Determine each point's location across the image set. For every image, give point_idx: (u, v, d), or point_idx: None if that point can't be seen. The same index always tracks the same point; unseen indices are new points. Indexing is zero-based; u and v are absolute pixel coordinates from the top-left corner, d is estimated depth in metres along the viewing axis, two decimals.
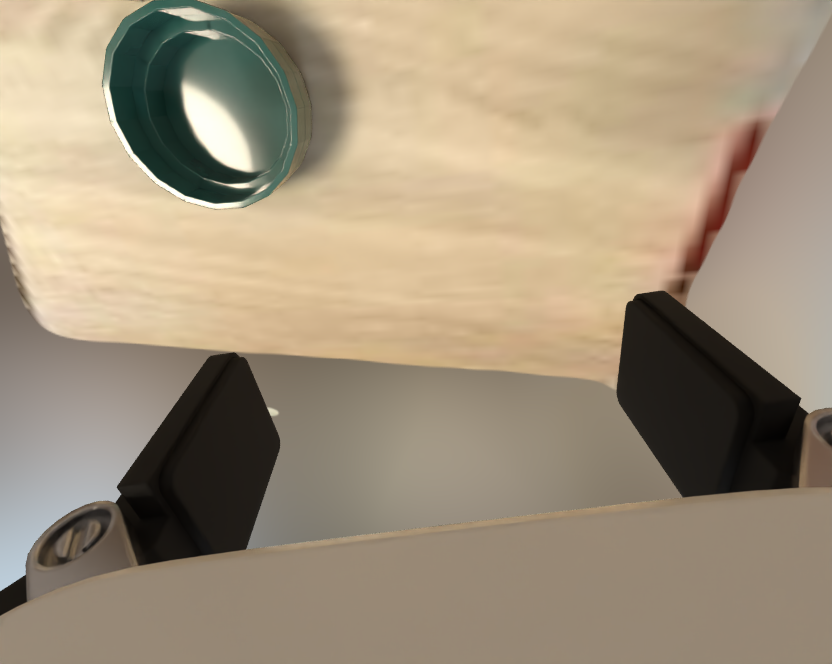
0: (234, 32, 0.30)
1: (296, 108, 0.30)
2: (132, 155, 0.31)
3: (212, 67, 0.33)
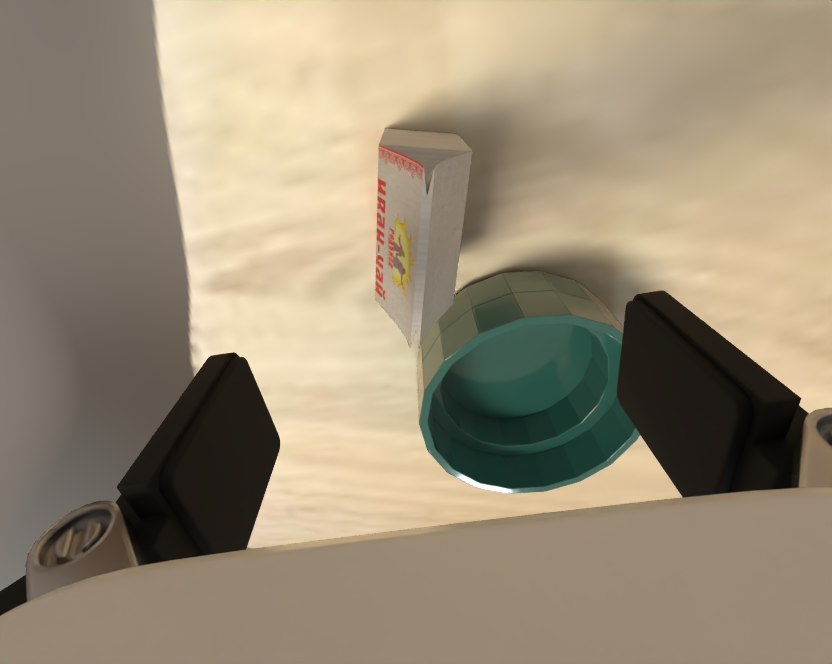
0: None
1: None
2: (432, 451, 0.25)
3: None
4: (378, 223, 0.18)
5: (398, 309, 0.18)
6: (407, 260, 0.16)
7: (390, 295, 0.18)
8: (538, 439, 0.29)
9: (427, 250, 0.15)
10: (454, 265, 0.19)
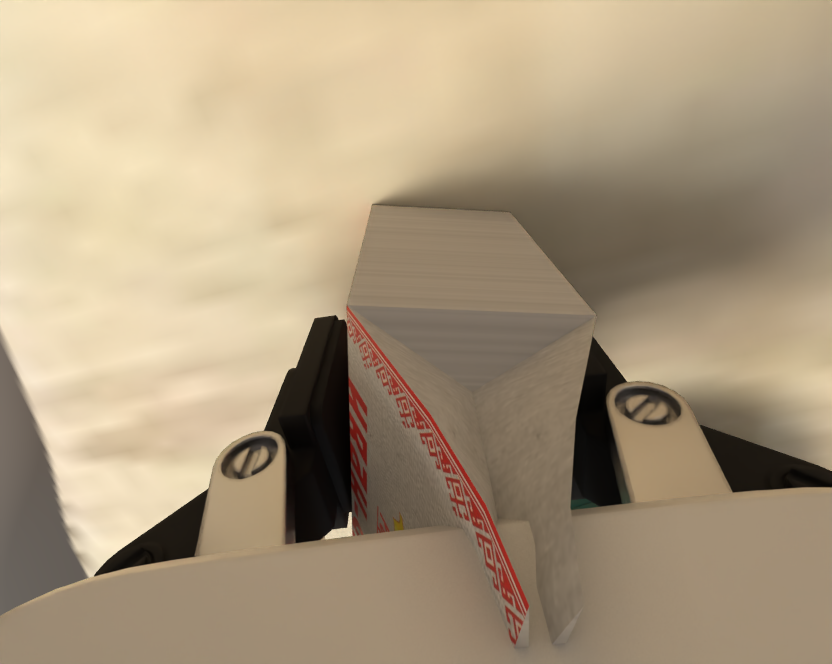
0: None
1: None
2: None
3: None
4: (353, 464, 0.08)
5: None
6: None
7: None
8: None
9: None
10: None
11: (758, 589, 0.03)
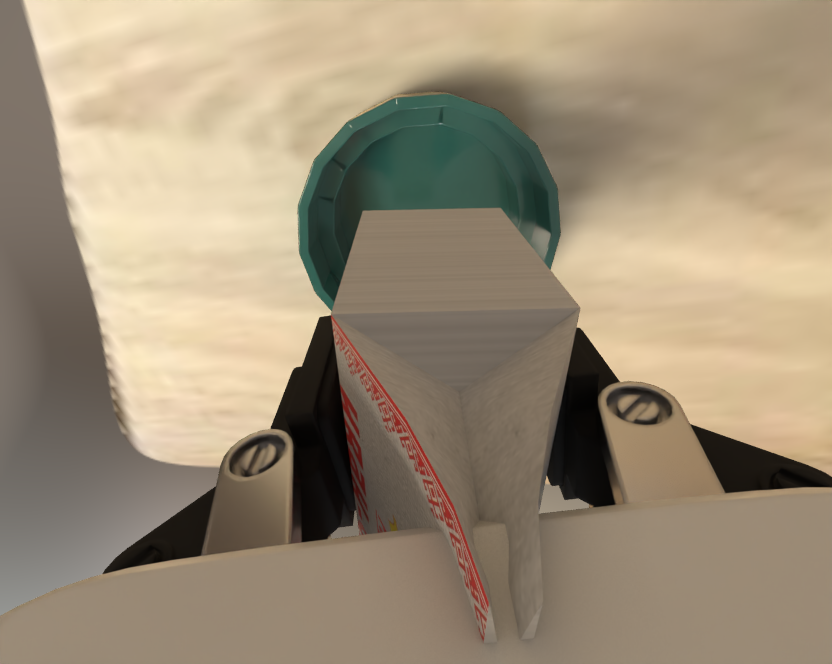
0: (473, 127, 0.21)
1: (559, 233, 0.21)
2: (320, 292, 0.23)
3: (412, 162, 0.25)
4: (353, 469, 0.08)
5: None
6: None
7: None
8: None
9: None
10: None
11: (758, 589, 0.03)
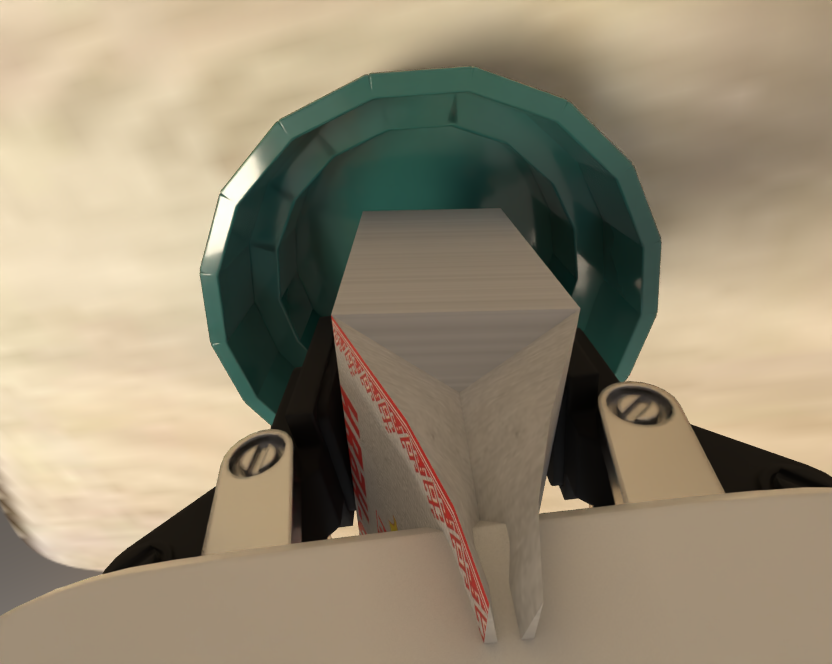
0: (508, 131, 0.12)
1: (654, 312, 0.12)
2: (252, 401, 0.14)
3: (405, 184, 0.16)
4: (353, 469, 0.08)
5: None
6: None
7: None
8: None
9: None
10: None
11: (757, 589, 0.03)
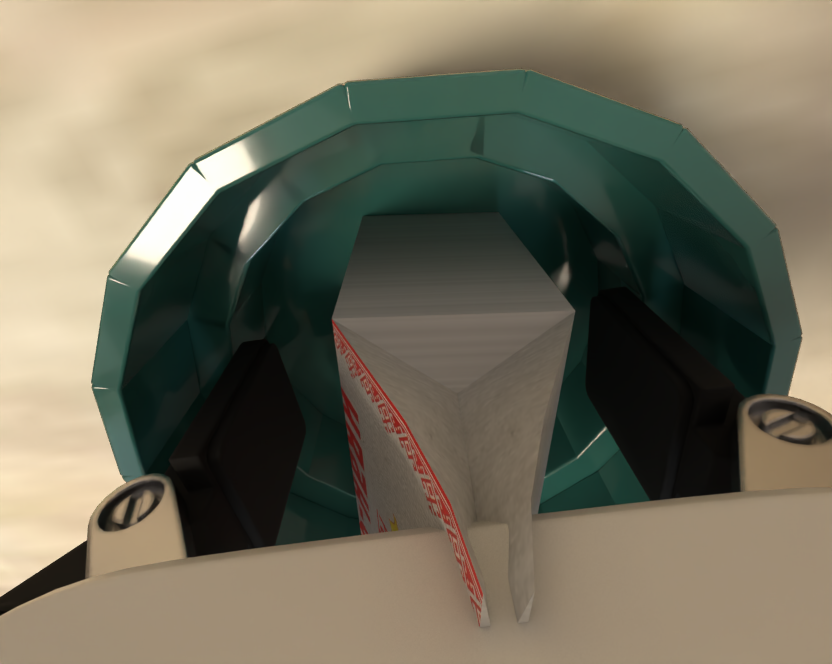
0: (558, 165, 0.08)
1: None
2: None
3: None
4: (354, 470, 0.08)
5: None
6: None
7: None
8: None
9: None
10: None
11: (758, 589, 0.03)
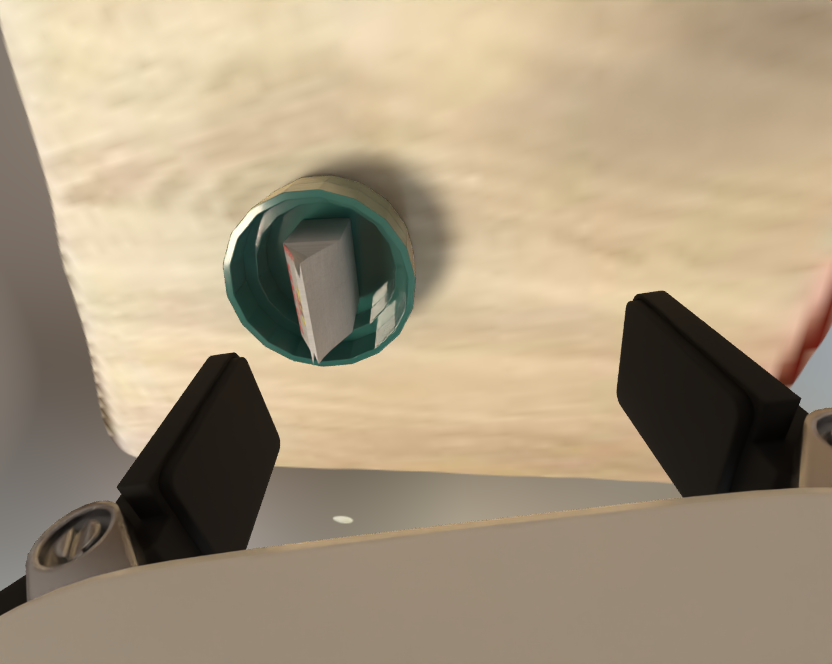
0: None
1: (414, 278, 0.29)
2: (245, 323, 0.31)
3: None
4: (292, 288, 0.29)
5: (308, 340, 0.28)
6: None
7: (304, 332, 0.29)
8: (356, 327, 0.34)
9: (308, 307, 0.25)
10: (345, 308, 0.29)
11: (758, 589, 0.03)
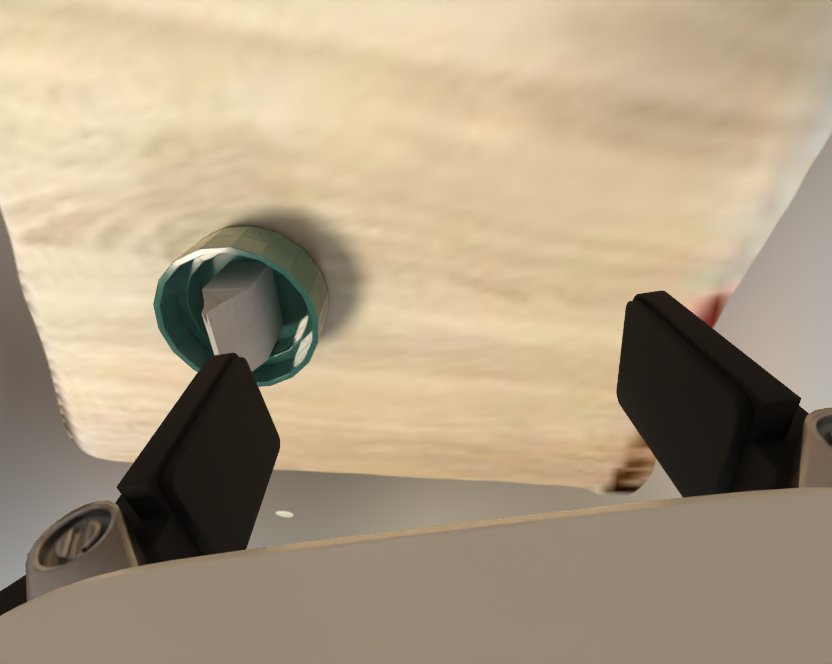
0: None
1: (317, 317, 0.35)
2: (176, 351, 0.36)
3: None
4: None
5: None
6: None
7: None
8: (277, 352, 0.40)
9: (217, 346, 0.31)
10: (258, 342, 0.35)
11: (757, 589, 0.03)
